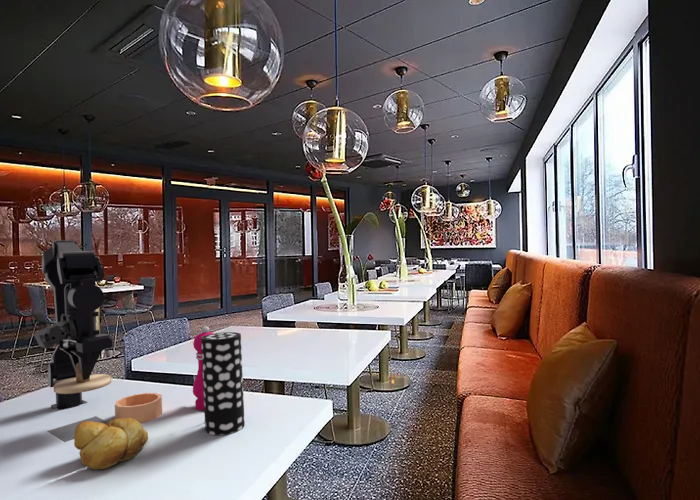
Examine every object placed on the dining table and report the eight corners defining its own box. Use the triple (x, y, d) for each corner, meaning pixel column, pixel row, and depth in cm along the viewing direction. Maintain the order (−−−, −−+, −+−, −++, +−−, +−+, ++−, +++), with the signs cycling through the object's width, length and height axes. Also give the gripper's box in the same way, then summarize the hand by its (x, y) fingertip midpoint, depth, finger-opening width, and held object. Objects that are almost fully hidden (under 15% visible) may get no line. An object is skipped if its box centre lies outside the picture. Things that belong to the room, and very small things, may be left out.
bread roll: (138, 440, 93) (136, 401, 93) (163, 451, 87) (161, 410, 87) (69, 465, 83) (67, 422, 83) (92, 480, 77) (90, 433, 77)
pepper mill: (214, 411, 108) (211, 328, 108) (187, 410, 109) (184, 328, 109) (228, 401, 115) (225, 323, 115) (203, 400, 116) (199, 323, 116)
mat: (47, 433, 99) (47, 430, 99) (96, 418, 106) (95, 416, 106) (65, 444, 92) (65, 441, 92) (115, 427, 100) (115, 425, 100)
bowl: (108, 420, 105) (107, 402, 105) (149, 407, 112) (148, 390, 112) (128, 430, 99) (127, 410, 99) (170, 415, 106) (169, 397, 106)
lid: (46, 388, 99) (45, 365, 99) (99, 375, 107) (98, 355, 107) (64, 397, 92) (63, 372, 92) (120, 383, 100) (119, 360, 100)
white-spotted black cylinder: (252, 422, 100) (248, 333, 100) (227, 437, 93) (223, 340, 92) (223, 418, 104) (219, 331, 103) (196, 432, 96) (192, 338, 96)
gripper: (23, 310, 99) (26, 381, 99) (54, 316, 87) (57, 396, 88) (78, 304, 108) (81, 369, 108) (113, 308, 96) (116, 381, 96)
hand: (83, 378), depth 100 cm, fingers closed on lid, 3 cm apart
